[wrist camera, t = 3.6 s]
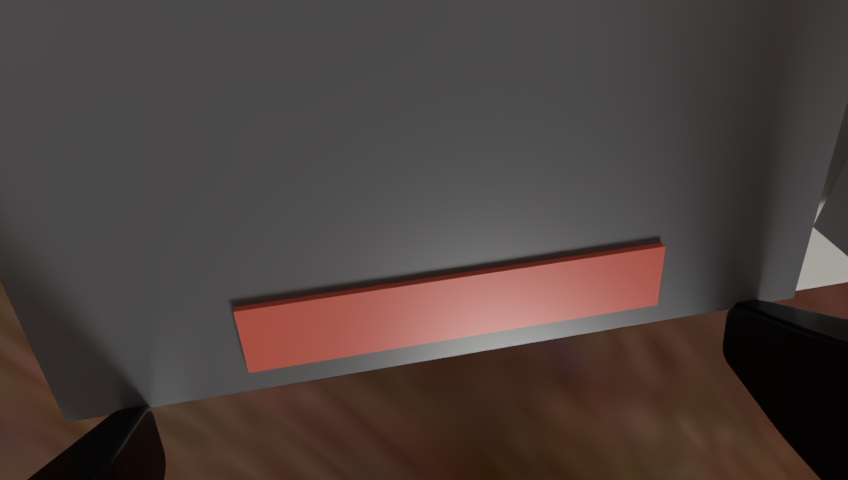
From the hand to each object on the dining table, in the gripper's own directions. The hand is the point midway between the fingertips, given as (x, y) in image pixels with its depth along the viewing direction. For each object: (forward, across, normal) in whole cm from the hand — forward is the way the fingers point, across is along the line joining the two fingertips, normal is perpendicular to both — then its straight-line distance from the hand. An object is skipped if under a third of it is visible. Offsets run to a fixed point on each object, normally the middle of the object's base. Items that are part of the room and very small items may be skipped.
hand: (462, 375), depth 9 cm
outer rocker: (+1, 0, -4) cm, 4 cm away
